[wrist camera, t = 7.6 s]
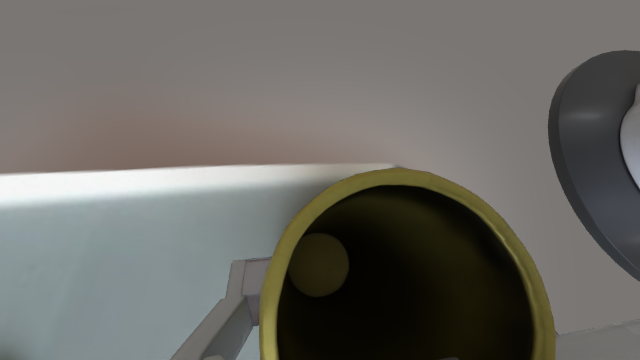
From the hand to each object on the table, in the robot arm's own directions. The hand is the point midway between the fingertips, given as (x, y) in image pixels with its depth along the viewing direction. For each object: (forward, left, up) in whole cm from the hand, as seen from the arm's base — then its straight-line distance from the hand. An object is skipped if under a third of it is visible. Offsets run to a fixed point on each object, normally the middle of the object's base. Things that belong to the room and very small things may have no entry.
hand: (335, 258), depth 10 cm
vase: (0, +1, -8) cm, 8 cm away
